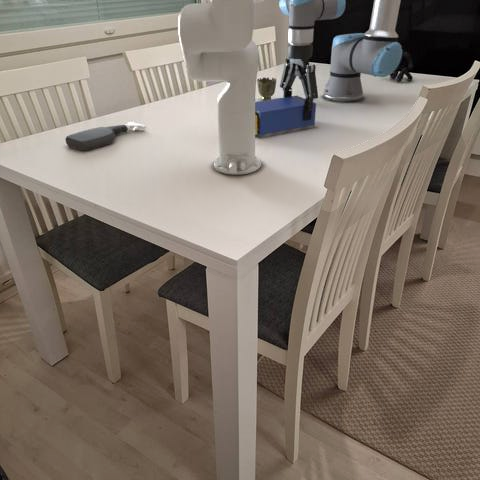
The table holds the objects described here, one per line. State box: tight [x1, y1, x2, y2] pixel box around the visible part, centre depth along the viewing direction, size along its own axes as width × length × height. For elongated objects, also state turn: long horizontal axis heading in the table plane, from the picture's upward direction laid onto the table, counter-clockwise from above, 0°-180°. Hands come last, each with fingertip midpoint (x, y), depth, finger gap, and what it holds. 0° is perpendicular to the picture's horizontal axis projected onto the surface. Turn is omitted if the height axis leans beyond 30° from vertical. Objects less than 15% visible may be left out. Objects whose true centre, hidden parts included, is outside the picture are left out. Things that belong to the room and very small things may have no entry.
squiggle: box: [389, 51, 414, 83], centre depth 198 cm, size 11×10×15 cm
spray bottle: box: [64, 121, 147, 152], centre depth 139 cm, size 3×11×24 cm
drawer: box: [255, 113, 260, 136], centre depth 142 cm, size 24×10×6 cm, turn 117°
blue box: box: [255, 95, 317, 138], centre depth 144 cm, size 20×11×8 cm, turn 117°
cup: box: [256, 77, 277, 101], centre depth 173 cm, size 8×7×8 cm
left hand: (238, 89), depth 133 cm, fingers closed
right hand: (296, 115), depth 147 cm, fingers closed on blue box, 11 cm apart
